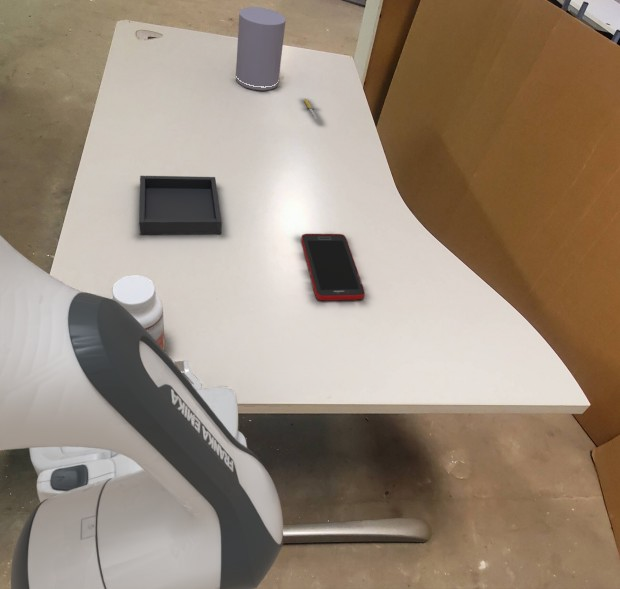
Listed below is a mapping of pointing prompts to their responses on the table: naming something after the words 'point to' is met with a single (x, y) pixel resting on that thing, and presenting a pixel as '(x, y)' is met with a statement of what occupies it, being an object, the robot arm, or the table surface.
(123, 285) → the pill bottle
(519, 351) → the table surface
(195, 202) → the dark shallow tray
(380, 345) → the table surface
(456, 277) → the table surface
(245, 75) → the container
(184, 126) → the table surface
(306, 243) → the cell phone
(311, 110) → the dagger
